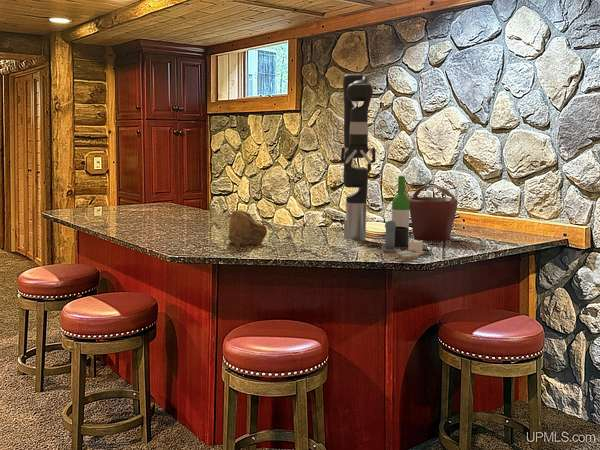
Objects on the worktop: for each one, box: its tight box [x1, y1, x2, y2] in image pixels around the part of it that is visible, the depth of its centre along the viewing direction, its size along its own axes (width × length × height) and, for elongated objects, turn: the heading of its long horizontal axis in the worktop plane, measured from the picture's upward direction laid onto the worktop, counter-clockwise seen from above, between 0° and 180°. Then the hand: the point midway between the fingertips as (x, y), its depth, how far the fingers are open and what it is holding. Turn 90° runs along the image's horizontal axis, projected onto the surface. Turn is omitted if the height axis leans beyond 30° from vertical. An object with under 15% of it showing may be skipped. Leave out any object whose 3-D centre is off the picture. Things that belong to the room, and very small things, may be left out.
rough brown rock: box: [227, 209, 268, 247], centre depth 285 cm, size 23×17×15 cm
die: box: [407, 239, 424, 256], centre depth 267 cm, size 5×5×5 cm
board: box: [349, 246, 420, 262], centre depth 262 cm, size 27×11×2 cm, turn 57°
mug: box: [394, 226, 409, 248], centre depth 278 cm, size 9×12×9 cm
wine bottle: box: [391, 175, 410, 242], centre depth 289 cm, size 8×8×30 cm
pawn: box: [382, 219, 397, 254], centre depth 260 cm, size 5×5×13 cm
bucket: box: [408, 184, 458, 242], centre depth 306 cm, size 24×22×25 cm
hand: (357, 172), depth 271 cm, fingers open, 8 cm apart
